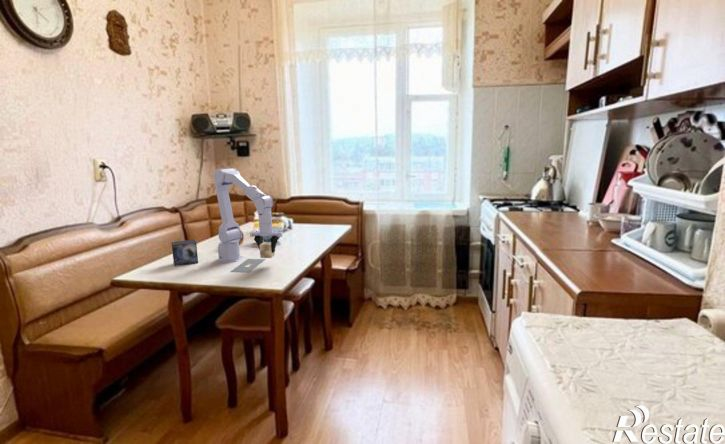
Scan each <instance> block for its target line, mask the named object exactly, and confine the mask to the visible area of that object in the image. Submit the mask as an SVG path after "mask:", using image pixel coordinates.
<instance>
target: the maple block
mask: <svg viewBox="0 0 725 444" xmlns="http://www.w3.org/2000/svg"><path fill="white" fill-rule="evenodd" d="M259 246H260V250H259V254H260V255H259V257H260V258H259V259H272V258H273V257H274V256H275V255H276V251H275V252H274V253H272V246H271V242H264V241H263V243H262V244H260V245H259Z"/></svg>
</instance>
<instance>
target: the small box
mask: <svg viewBox="0 0 725 444" xmlns="http://www.w3.org/2000/svg"><path fill="white" fill-rule="evenodd" d="M197 245H198V244H197V240H196V239H187V240H178V241H172V242H171V251H172V260H173V265H174V267H178V266H180V267H181V266H185V265H186V266H187V265H194V264H199V257H198V246H197Z"/></svg>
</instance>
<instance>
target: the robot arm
mask: <svg viewBox="0 0 725 444" xmlns="http://www.w3.org/2000/svg"><path fill="white" fill-rule="evenodd" d="M212 175H213V182H214V186H215V191H216V197H217V204H218V208H219V212H220V218H221V222H222V223H221V224H220V225H219V227H218V228H217V229H218V240H219V241H220V242H219V243H218V246H217V255H218V260H217V262H223V263H224V262H226V263H227V262H230V263H231V262H232V263H233V262H234V263H236V262H239V261H240V260H242V259H243V258H244V256H242V255H241V252H240V245H239V241H240V238H241V236H242V232H243V231H242V230H241V228H240V224H239V223H238V222H236V221H235V219H234V218H235V217H234V213H233V209H232V208H233V207H232V203H231V199H230V193H229V188H230V186H232V185H233V184H235V185H236V186H237V187H239V188H240V189H241V190H243V192H245V194H244V195H245V196H246V197H247V198H248V199H249V200H251V201H252V202H253V204H254V207H255V209H256V213H257V217H258V228H259V231H257V232H256V231H250V232H249V236H250V238H252V237H253V240H254V242H255V243H256V245H257V248H258V249H259V251H260V246H259V245H260V244H262V243H263V242H264V241H263V237H271V238H270V241H271V246H272V253H274V252H275V253H276V247H277V243H278V240H279V239H280V238H283V234H284V233H282V232H276V231H273V230H272V226H273V218H272V207H274V204H275V203H274V199H273V197H272V196H271V195H270V194H265V193H264V192H262V190H260V189H259V188H258V186H256V185H250V183H249V182H248V181H247V180H246V179H244V177H242V175H241V173H240V171H239V170H237V168H235V167H230V168H217V169H216V170H215V171H214V172H213V174H212ZM241 231H242V232H241ZM279 237H280V238H279ZM278 238H279V239H278Z"/></svg>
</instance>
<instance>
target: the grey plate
mask: <svg viewBox="0 0 725 444" xmlns="http://www.w3.org/2000/svg"><path fill="white" fill-rule="evenodd" d="M265 260H267V258H247V259H246V260H245V261H243V262H242V263H240V264H239V265H237V266H236V267H234V268H233V269H231V270H230V271H229V273H241V274H243V273H249V274H250V273H251V272H252V271H253V270H255V269H256V268H257V267H258V266H259V265H260V264H262V263H263V262H265Z"/></svg>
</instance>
